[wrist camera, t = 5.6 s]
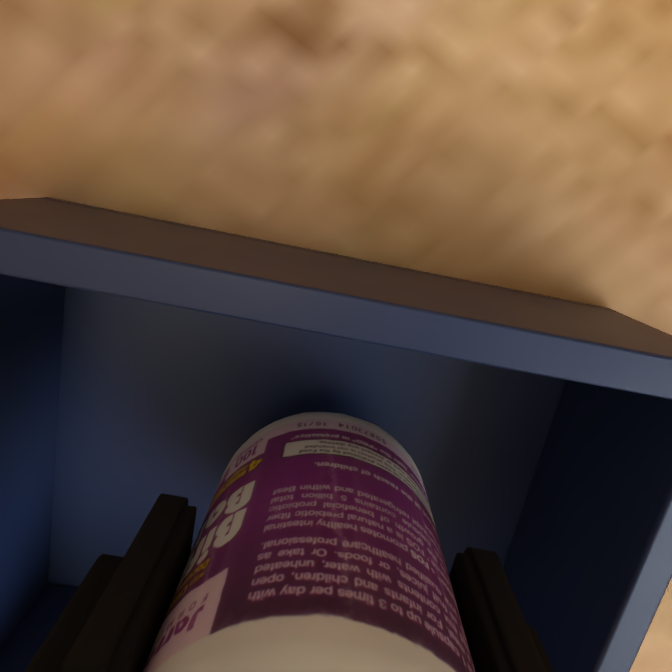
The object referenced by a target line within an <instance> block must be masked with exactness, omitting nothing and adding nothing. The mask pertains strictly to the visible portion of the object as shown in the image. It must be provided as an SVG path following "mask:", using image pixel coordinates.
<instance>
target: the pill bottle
mask: <svg viewBox="0 0 672 672" xmlns="http://www.w3.org/2000/svg"><path fill="white" fill-rule="evenodd" d="M142 672H475V668H474V664H473V660H472V657H471V654H470V650H469V647H468V643H467V639H466V636H465V632H464V628H463V625H462V622H461V618H460V614H459V610H458V607H457V603H456V599H455V596H454V592H453V589H452V585H451V581H450V578H449V574H448V571H447V567H446V563H445V560H444V556H443V552H442V549H441V545H440V541H439V537H438V534H437V531H436V527H435V523H434V519H433V516H432V512H431V508H430V504H429V501H428V498H427V494H426V491H425V488H424V485H423V481H422V478H421V475H420V473H419V471H418V468H417V466H416V465H415V463H414V461H413V460H412V458H411V456H410V455H409V454H408V453H407V452H406V450H405V449H404V448H403V447H402V446H401V445H400V444H399V443H398V442H397V441H396V440H395V439H394V438H393V437H392V436H391V435H389V434H388V433H387V432H386V431H384V430H383V429H381V428H380V427H379V426H377V425H375V424H373V423H370V422H367V421H364V420H362V419H359V418H355V417H352V416H349V415H346V414H341V413H331V412H303V413H300V414H296V415H292V416H288V417H285V418H283V419H280V420H278V421H275V422H273V423H271V424H269V425H267V426H265V427H264V428H262V429H261V430H259V431H258V432H256V433H255V434H254V435H252V436H251V437H250V438H249V439H248V440H247V441H246V442H245V443H244V444H243V445H242V446H241V447H240V448H239V449H238V450H237V452H236V453H235V454H234V456H233V457H232V459H231V461H230V462H229V464H228V466H227V468H226V469H225V471H224V473H223V476H222V478H221V481H220V483H219V485H218V488H217V490H216V492H215V495H214V497H213V499H212V501H211V504H210V507H209V510H208V512H207V514H206V517H205V519H204V521H203V524H202V526H201V529H200V531H199V534H198V536H197V538H196V540H195V542H194V545H193V548H192V550H191V553H190V556H189V559H188V561H187V563H186V566H185V568H184V570H183V573H182V575H181V578H180V580H179V583H178V585H177V588H176V590H175V592H174V595H173V597H172V600H171V602H170V605H169V608H168V611H167V613H166V615H165V618H164V620H163V622H162V625H161V627H160V629H159V631H158V634H157V637H156V639H155V642H154V645H153V647H152V649H151V652H150V654H149V657H148V659H147V661H146V664H145V666H144V669H143V671H142Z"/></svg>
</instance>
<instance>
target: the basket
mask: <svg viewBox="0 0 672 672" xmlns="http://www.w3.org/2000/svg"><path fill="white" fill-rule="evenodd" d="M303 412H331V413H341V414H346V415H349V416H352V417H355V418H359V419H362V420H364V421H367V422H370V423H373V424H375V425H377V426H379V427H380V428H381V429H383V430H384V431H386V432H387V433H388V434H389V435H391V436H392V437H393V438H394V439H395V440H396V441H397V442H398V443H399V444H400V445H401V446H402V447H403V448H404V449H405V450H406V452H407V453H408V454H409V455H410V456H411V458H412V460H413V461H414V463H415V465H416V466H417V468H418V471H419V473H420V475H421V478H422V481H423V485H424V488H425V491H426V494H427V498H428V501H429V504H430V508H431V512H432V516H433V519H434V523H435V527H436V531H437V534H438V537H439V541H440V545H441V549H442V552H443V556H444V560H445V563H446V567H447V571H448V574H450V571H451V568H452V565H453V562H454V558H455V556H456V554H457V553H459V552H460V553H464V551H465V549H466V548H467V547H473V548H479V549H484V550H490V551H494V552H496V554H497V556H498V558H499V560H500V562H501V565H502V567H503V570H504V572H505V574H506V577H507V579H508V581H509V584H510V586H511V588H512V591H513V593H514V595H515V598H516V600H517V602H518V605H519V607H520V609H521V612H522V614H523V616H524V619H525V621H526V623H527V625H530V626H531V627H533V628H534V629H535V631H536V633H537V634H538V636H539V639H540V641H541V643H542V645H543V648H544V650H545V652H546V654H547V657H548V659H549V661H550V663H551V666H552V668H553V670H554V672H629V671H630V669H631V666H632V664H633V662H634V660H635V658H636V655H637V653H638V651H639V649H640V646H641V644H642V642H643V640H644V637H645V635H646V633H647V631H648V628H649V626H650V624H651V622H652V620H653V617H654V615H655V613H656V611H657V608H658V606H659V604H660V602H661V599H662V597H663V595H664V593H665V591H666V588H667V586H668V584H669V582H670V579H671V577H672V335H669V334H667V333H665V332H662V331H660V330H658V329H655V328H653V327H651V326H648V325H646V324H644V323H642V322H639V321H637V320H635V319H632V318H630V317H628V316H625V315H623V314H621V313H619V312H616V311H614V310H612V309H609V308H604V307H599V306H594V305H589V304H584V303H579V302H574V301H569V300H564V299H559V298H554V297H549V296H544V295H539V294H534V293H528V292H523V291H518V290H513V289H508V288H503V287H498V286H493V285H488V284H483V283H478V282H473V281H468V280H463V279H458V278H453V277H448V276H443V275H438V274H433V273H427V272H422V271H417V270H412V269H407V268H402V267H397V266H392V265H387V264H382V263H377V262H372V261H367V260H362V259H357V258H352V257H347V256H342V255H337V254H331V253H326V252H321V251H316V250H311V249H306V248H301V247H296V246H291V245H286V244H281V243H276V242H271V241H266V240H261V239H256V238H251V237H246V236H241V235H236V234H230V233H225V232H220V231H215V230H210V229H205V228H200V227H195V226H190V225H185V224H180V223H175V222H170V221H165V220H160V219H155V218H150V217H145V216H140V215H134V214H129V213H124V212H119V211H114V210H109V209H104V208H99V207H94V206H89V205H84V204H79V203H74V202H69V201H64V200H59V199H54V198H49V197H44V198H24V199H1V200H0V672H24V671H25V670H26V668H27V666H28V665H29V663H30V662H31V660H32V659H33V657H34V656H35V654H36V652H37V651H38V649H39V648H40V646H41V645H42V643H43V642H44V640H45V639H46V637H47V635H48V634H49V632H50V631H51V629H52V628H53V626H54V625H55V623H56V621H57V620H58V618H59V617H60V615H61V614H62V612H63V611H64V609H65V608H66V606H67V604H68V603H69V601H70V600H71V598H72V597H73V595H74V594H75V592H76V590H77V589H78V587H79V586H80V584H81V583H82V581H83V580H84V578H85V576H86V575H87V573H88V572H89V570H90V569H91V567H92V566H93V564H94V563H95V561H96V560H97V559H98V557H99V556H100V555H102V554H109V555H114V556H120V557H124V556H125V554H126V552H127V550H128V549H129V547H130V545H131V544H132V542H133V540H134V538H135V537H136V535H137V533H138V531H139V530H140V528H141V526H142V524H143V523H144V521H145V519H146V517H147V516H148V514H149V512H150V511H151V509H152V507H153V505H154V504H155V502H156V500H157V498H158V497H159V495H160V494H161V493H163V494H169V495H175V496H181V497H186V498H188V505H189V506H195V507H196V517H195V524H194V531H193V538H192V545H191V550H192V548H193V545H194V542H195V540H196V538H197V536H198V534H199V531H200V529H201V526H202V524H203V521H204V519H205V517H206V514H207V512H208V510H209V507H210V504H211V501H212V499H213V497H214V495H215V492H216V490H217V488H218V485H219V483H220V481H221V478H222V476H223V473H224V471H225V469H226V468H227V466H228V464H229V462H230V461H231V459H232V457H233V456H234V454H235V453H236V452H237V450H238V449H239V448H240V447H241V446H242V445H243V444H244V443H245V442H246V441H247V440H248V439H249V438H250V437H251V436H252V435H254V434H255V433H256V432H258V431H259V430H261V429H262V428H264V427H265V426H267V425H269V424H271V423H273V422H275V421H278V420H280V419H283V418H285V417H288V416H292V415H296V414H300V413H303ZM190 553H191V552H190Z"/></svg>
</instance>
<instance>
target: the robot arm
mask: <svg viewBox="0 0 672 672" xmlns="http://www.w3.org/2000/svg"><path fill="white" fill-rule="evenodd" d="M195 517H196V507H195V506H189V505H188V498H186V497H181V496H175V495H169V494H163V493H161V494H160V495H159V497H158V498H157V500H156V502H155V504H154V505H153V507H152V509H151V511H150V512H149V514H148V516H147V517H146V519H145V521H144V523H143V524H142V526H141V528H140V530H139V531H138V533H137V535H136V537H135V538H134V540H133V542H132V544H131V545H130V547H129V549H128V550H127V552H126V554H125V556H124V557H120V556H114V555H109V554H102V555H100V556H99V557H98V559H97V560H96V561H95V563H94V564H93V566H92V567H91V569H90V570H89V572H88V573H87V575H86V576H85V578H84V580H83V581H82V583H81V584H80V586H79V587H78V589H77V590H76V592H75V594H74V595H73V597H72V598H71V600H70V601H69V603H68V604H67V606H66V608H65V609H64V611H63V612H62V614H61V615H60V617H59V618H58V620H57V621H56V623H55V625H54V626H53V628H52V629H51V631H50V632H49V634H48V635H47V637H46V639H45V640H44V642H43V643H42V645H41V646H40V648H39V649H38V651H37V652H36V654H35V656H34V657H33V659H32V660H31V662H30V663H29V665H28V666H27V668H26V670H25V671H24V672H142V671H143V669H144V666H145V664H146V661H147V659H148V657H149V654H150V652H151V649H152V647H153V645H154V642H155V639H156V637H157V634H158V631H159V629H160V627H161V625H162V622H163V620H164V618H165V615H166V613H167V611H168V608H169V605H170V602H171V600H172V597H173V595H174V592H175V590H176V588H177V585H178V583H179V580H180V578H181V575H182V573H183V570H184V568H185V566H186V563H187V561H188V559H189V556H190V552H191V545H192V538H193V531H194V524H195ZM449 578H450V581H451V585H452V589H453V592H454V596H455V599H456V603H457V607H458V610H459V614H460V618H461V622H462V625H463V628H464V632H465V636H466V639H467V643H468V647H469V650H470V654H471V657H472V660H473V664H474V668H475V672H554V670H553V668H552V666H551V663H550V661H549V659H548V657H547V654H546V652H545V650H544V648H543V645H542V643H541V641H540V639H539V636H538V634H537V633H536V631H535V629H534V628H533V627H531V626H530V625H527V623H526V621H525V619H524V616H523V614H522V612H521V609H520V607H519V605H518V602H517V600H516V598H515V595H514V593H513V591H512V588H511V586H510V584H509V581H508V579H507V577H506V574H505V572H504V570H503V567H502V565H501V562H500V560H499V558H498V556H497V554H496V552H494V551H490V550H484V549H479V548H473V547H467V548H466V549H465V551H464V553H460V552H459V553H457V554H456V556H455V558H454V562H453V565H452V568H451V571H450V574H449Z"/></svg>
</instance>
